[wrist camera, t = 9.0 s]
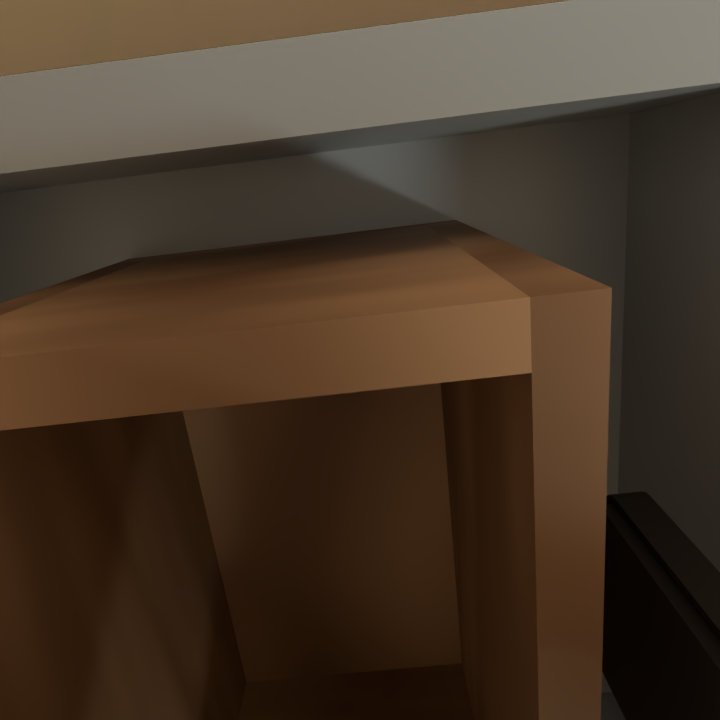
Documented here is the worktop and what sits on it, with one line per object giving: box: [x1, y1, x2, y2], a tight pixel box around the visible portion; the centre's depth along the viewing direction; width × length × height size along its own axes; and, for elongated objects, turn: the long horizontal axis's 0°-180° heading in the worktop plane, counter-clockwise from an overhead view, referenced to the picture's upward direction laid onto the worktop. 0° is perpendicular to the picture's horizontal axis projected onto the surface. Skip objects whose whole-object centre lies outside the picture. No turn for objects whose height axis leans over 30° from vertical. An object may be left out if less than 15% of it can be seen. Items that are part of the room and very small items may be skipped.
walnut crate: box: [0, 220, 612, 720], centre depth 9 cm, size 6×11×7 cm, turn 7°
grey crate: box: [0, 0, 720, 720], centre depth 11 cm, size 15×16×5 cm
